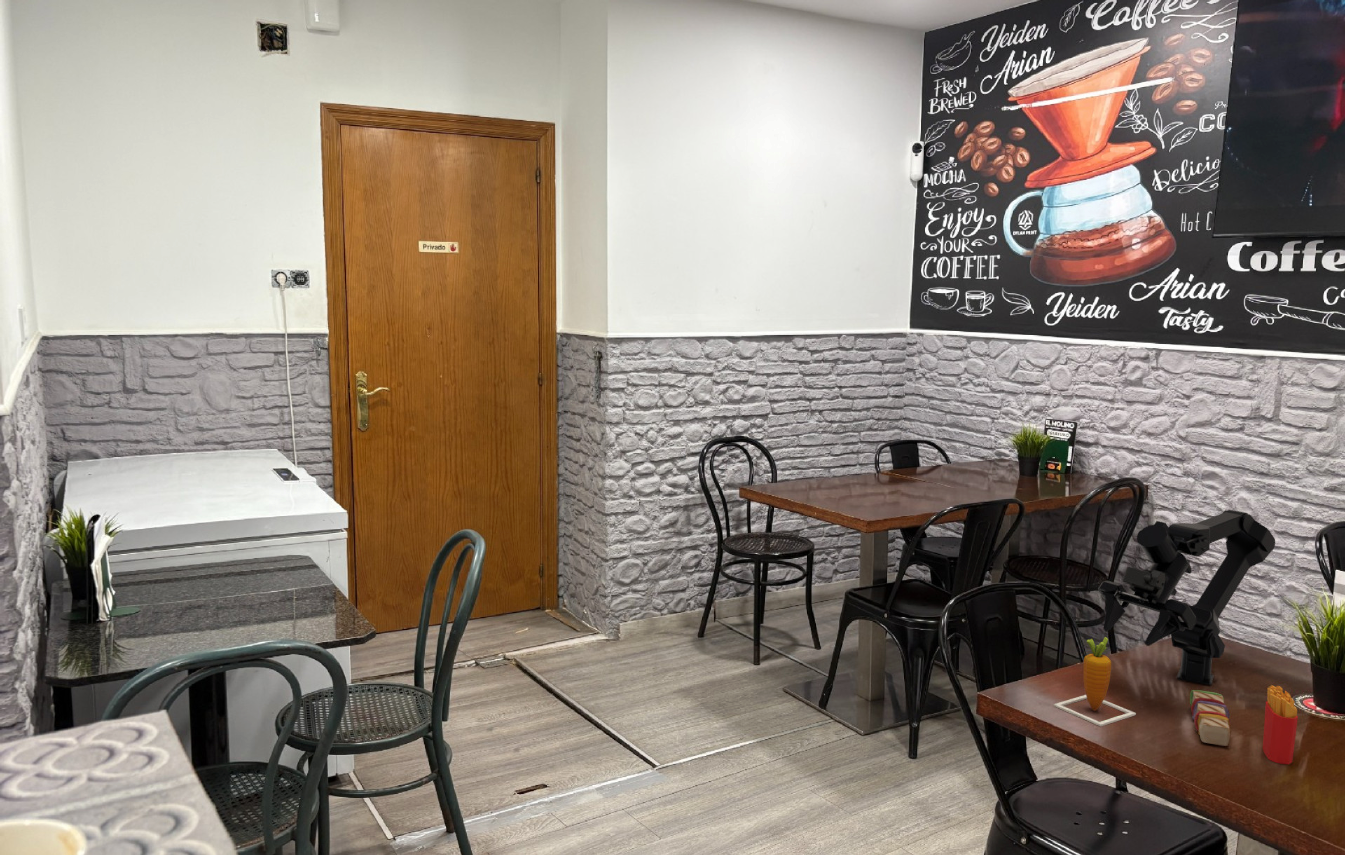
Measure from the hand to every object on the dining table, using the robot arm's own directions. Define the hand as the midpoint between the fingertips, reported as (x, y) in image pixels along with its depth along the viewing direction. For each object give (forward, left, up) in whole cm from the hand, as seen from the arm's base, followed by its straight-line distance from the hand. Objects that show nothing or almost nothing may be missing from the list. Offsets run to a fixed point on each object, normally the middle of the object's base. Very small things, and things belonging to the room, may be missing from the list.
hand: (1125, 637), depth 192 cm
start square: (+7, -4, -14) cm, 16 cm away
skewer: (+1, +16, -14) cm, 21 cm away
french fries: (+9, +27, -14) cm, 32 cm away
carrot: (+7, -4, -14) cm, 16 cm away
